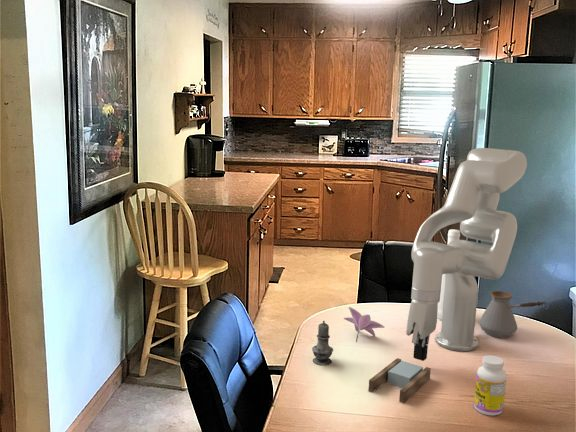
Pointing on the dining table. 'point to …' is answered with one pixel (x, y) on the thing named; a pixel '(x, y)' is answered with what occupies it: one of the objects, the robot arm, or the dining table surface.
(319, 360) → the salt shaker
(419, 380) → the walnut chute
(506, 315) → the coffee pot
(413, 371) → the slate block
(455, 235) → the bottle
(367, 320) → the lily
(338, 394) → the dining table surface
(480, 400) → the supplement bottle
